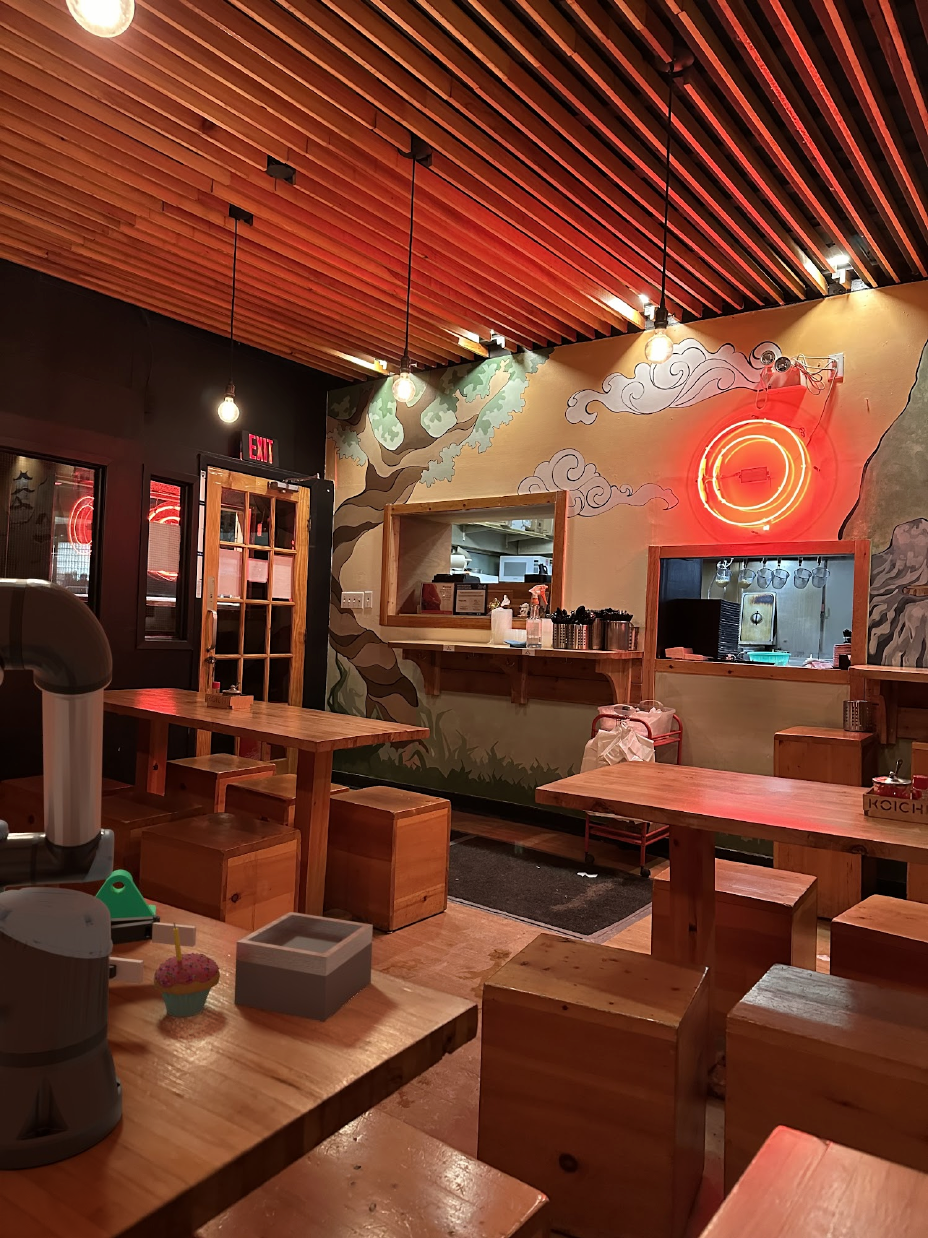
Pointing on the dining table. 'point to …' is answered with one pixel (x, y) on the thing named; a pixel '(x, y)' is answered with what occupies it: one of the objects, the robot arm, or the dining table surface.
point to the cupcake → (186, 981)
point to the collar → (264, 953)
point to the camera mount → (124, 897)
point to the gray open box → (302, 981)
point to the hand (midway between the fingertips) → (169, 953)
